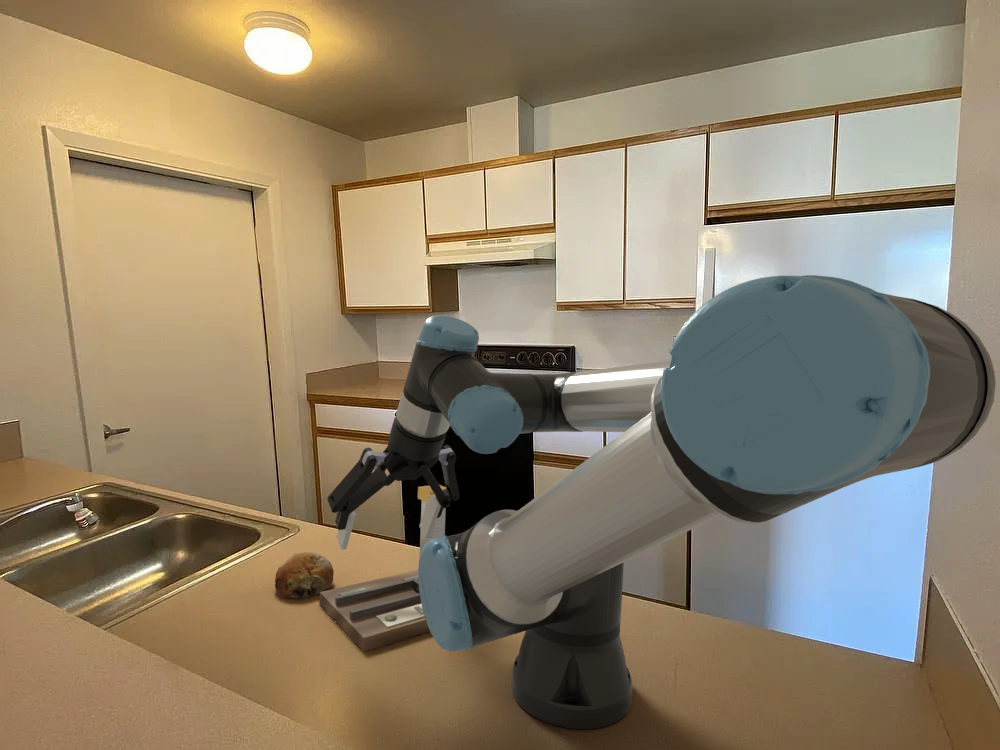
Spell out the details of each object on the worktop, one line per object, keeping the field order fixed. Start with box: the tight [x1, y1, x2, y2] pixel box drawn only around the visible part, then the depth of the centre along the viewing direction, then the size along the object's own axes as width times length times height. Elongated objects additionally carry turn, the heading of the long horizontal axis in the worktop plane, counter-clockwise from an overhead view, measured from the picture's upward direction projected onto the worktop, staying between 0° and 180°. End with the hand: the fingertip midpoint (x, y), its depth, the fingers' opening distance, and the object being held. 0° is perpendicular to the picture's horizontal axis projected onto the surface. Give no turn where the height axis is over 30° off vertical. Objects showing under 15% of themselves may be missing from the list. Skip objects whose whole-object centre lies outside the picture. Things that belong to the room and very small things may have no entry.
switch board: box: [319, 569, 430, 653], centre depth 90 cm, size 18×20×3 cm
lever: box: [412, 484, 451, 591], centre depth 93 cm, size 4×5×17 cm
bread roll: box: [274, 551, 335, 599], centre depth 98 cm, size 10×10×8 cm
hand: (384, 537), depth 84 cm, fingers open, 13 cm apart
